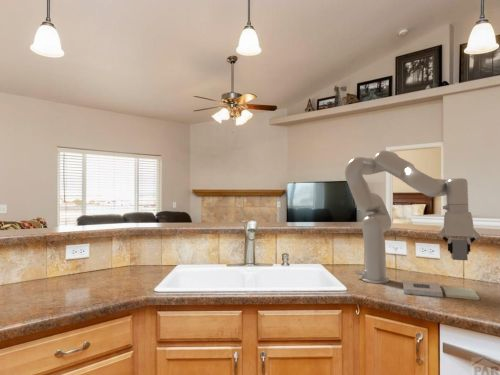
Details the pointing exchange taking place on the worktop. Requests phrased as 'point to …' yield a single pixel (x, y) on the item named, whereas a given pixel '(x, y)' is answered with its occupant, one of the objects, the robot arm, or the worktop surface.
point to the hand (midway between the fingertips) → (459, 252)
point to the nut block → (459, 249)
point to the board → (460, 293)
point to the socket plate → (422, 288)
